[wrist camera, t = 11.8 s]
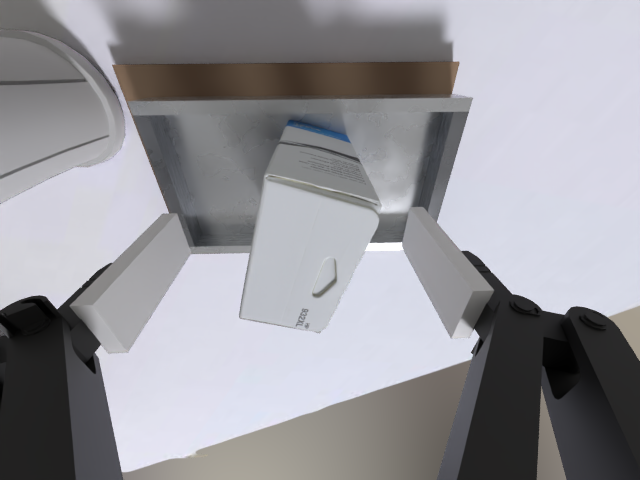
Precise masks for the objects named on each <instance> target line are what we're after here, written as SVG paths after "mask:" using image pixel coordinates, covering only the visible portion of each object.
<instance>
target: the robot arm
mask: <svg viewBox="0 0 640 480" xmlns="http://www.w3.org/2000/svg"><path fill="white" fill-rule="evenodd" d="M402 248H403V250H404V252H405V254H406V256H407V258H408V259H409V261H410V263H411V265H412V267H413V269H414V271H415V272H416V274H417V276H418V278H419V280H420V282H421V284H422V285H423V287H424V289H425V291H426V293H427V295H428V297H429V298H430V300H431V302H432V304H433V306H434V308H435V310H436V311H437V313H438V315H439V317H440V319H441V321H442V323H443V324H444V326H445V328H446V330H447V332H448V334H449V336H450V337H451V339H458V338H470V336H471V334H472V332H473V330H474V329H475V330H476V332H477V333H478V335H479V336H480V337H479V339H478V341H477V343H476V345H475V346H474V348H473V350H472V352H471V353H472V354H473V357H472V361H471V364H470V368H469V371H468V374H467V378H466V381H465V385H464V388H463V391H462V395H461V398H460V402H459V405H458V409H457V412H456V415H455V419H454V422H453V426H452V429H451V433H450V436H449V439H448V443H447V446H446V450H445V453H444V456H443V460H442V463H441V467H440V470H439V474H438V477H437V480H536V478H537V459H538V439H539V417H540V398H541V386H542V389H543V394H544V397H545V401H546V405H547V408H548V412H549V416H550V420H551V423H552V427H553V431H554V434H555V438H556V442H557V445H558V449H559V452H560V456H561V460H562V463H563V468H564V471H565V475H566V479H567V480H640V361H639V360H638V358H637V357H636V355H635V353H634V351H633V350H632V348H631V347H630V345H629V344H628V342H627V340H626V339H625V337H624V336H623V334H622V332H621V331H620V329H619V328H618V327H617V326H616V325H615V323H614V322H613V321H611V320H610V319H609V318H607V317H606V316H604V315H603V314H601V313H599V312H597V311H594V310H591V309H588V308H585V307H578V306H577V307H571V308H570V309H569V310H568V311H567V313H566V314H565V315H561V314H556V313H551V312H546V311H542V310H541V308H540V307H539V306H538V305H537V304H535V303H534V302H533V301H531V300H529V299H527V298H525V297H522V296H518V295H512V294H511V292H510V291H509V290H508V289H507V288H506V287H505V286H504V285H503V284H502V283H501V282H500V280H499V279H498V278H497V277H496V276H495V275H494V274H493V273H491V271H490V270H489V269H488V267H487V266H485V264H484V263H483V262H482V261H481V260H480V259H479V258H478V257H477V256H475V255H474V254H472V253H471V252H469V251H460V250H459V248H458V247H457V246H456V245H455V244H454V243H453V241H452V240H451V239H450V238H449V237H448V235H447V234H446V233H445V232H444V231H443V230H442V228H441V227H440V226H439V225H438V224H437V223H436V221H435V220H434V219H433V218H432V217H431V216H430V214H429V213H428V212H427V211H426V210H425V209H424V207H410V209H409V214H408V218H407V223H406V228H405V233H404V237H403V242H402ZM190 254H191V251H190V248H189V245H188V243H187V240H186V237H185V234H184V232H183V229H182V226H181V223H180V221H179V218H178V215H177V213H170V214H162V215H161V216H160V217H159V218H158V219H157V220H156V221H155V222H154V223H153V224H152V225H151V226H150V227H149V228H148V229H147V230H146V231H145V232H144V233H143V234H142V235H141V236H140V237H139V238H138V239H137V240H136V241H135V242H134V243H133V244H132V245H131V246H130V247H129V248H128V249H127V250H126V251H125V252H124V253H123V254H121V255H120V256H119V257H118V258H117V259H116V260H115V261H114V262H113V263H110V264H108V265H106V266H105V267H103V268H101V269H100V270H98V271H97V272H96V273H95V274H94V275H93V276H92V277H91V278H90V279H89V281H87V282H86V283H85V284H83V285H82V288H79V289H78V290H77V291H76V292H75V293H74V294H73V295H72V296H71V297H70V298H69V299H68V300H67V301H66V302H65V303H64V304H63V305H61V306H60V307H59V308H58V309H56V308H55V307H54V306H53V304H52V303H51V302H50V301H49V300H48V299H47V298H46V297H45V296H31V297H28V298H24V299H21V300H19V301H17V302H14V303H12V304H10V305H9V306H7V307H5V308H4V309H2V310H1V311H0V331H1V332H2V333H4V334H5V336H1V337H0V480H123V477H122V472H121V467H120V462H119V457H118V452H117V447H116V442H115V437H114V432H113V427H112V422H111V417H110V412H109V407H108V402H107V397H106V392H105V387H104V382H103V378H102V373H101V368H100V363H99V358H98V357H97V355H96V354H95V351H96V350H97V349H98V348H99V346H100V345H102V347H103V348H104V349H105V350H106V351H107V353H128V352H129V350H130V348H131V347H132V345H133V344H134V342H135V341H136V339H137V337H138V336H139V334H140V333H141V331H142V330H143V328H144V326H145V325H146V323H147V322H148V320H149V319H150V317H151V316H152V314H153V312H154V311H155V309H156V308H157V306H158V305H159V303H160V301H161V300H162V298H163V297H164V295H165V294H166V292H167V290H168V289H169V287H170V286H171V284H172V283H173V281H174V279H175V278H176V276H177V275H178V273H179V272H180V270H181V268H182V267H183V265H184V264H185V262H186V261H187V259H188V257H189V256H190Z"/></svg>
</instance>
